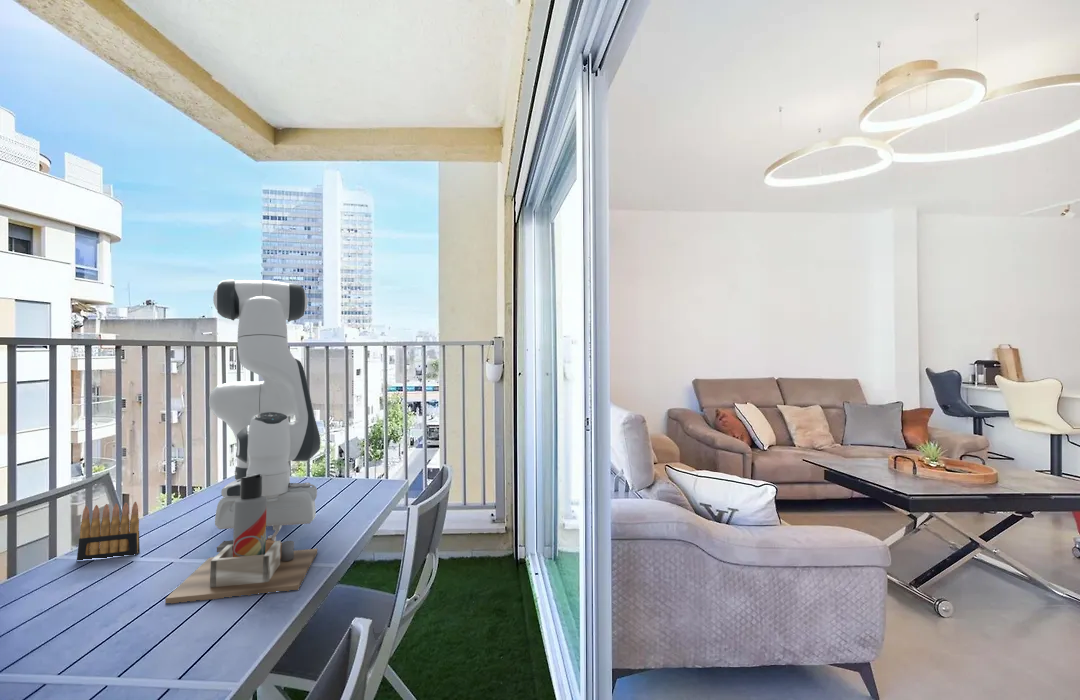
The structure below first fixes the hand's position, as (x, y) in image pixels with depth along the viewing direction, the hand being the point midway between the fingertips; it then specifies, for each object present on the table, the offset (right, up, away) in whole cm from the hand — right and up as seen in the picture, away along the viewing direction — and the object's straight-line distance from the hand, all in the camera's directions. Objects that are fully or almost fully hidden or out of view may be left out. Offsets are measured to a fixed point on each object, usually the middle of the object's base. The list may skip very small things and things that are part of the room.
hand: (266, 544), depth 112 cm
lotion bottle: (+4, -1, -13) cm, 13 cm away
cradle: (+3, -2, -11) cm, 12 cm away
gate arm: (+3, -1, -4) cm, 5 cm away
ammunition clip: (-35, -2, -2) cm, 35 cm away
